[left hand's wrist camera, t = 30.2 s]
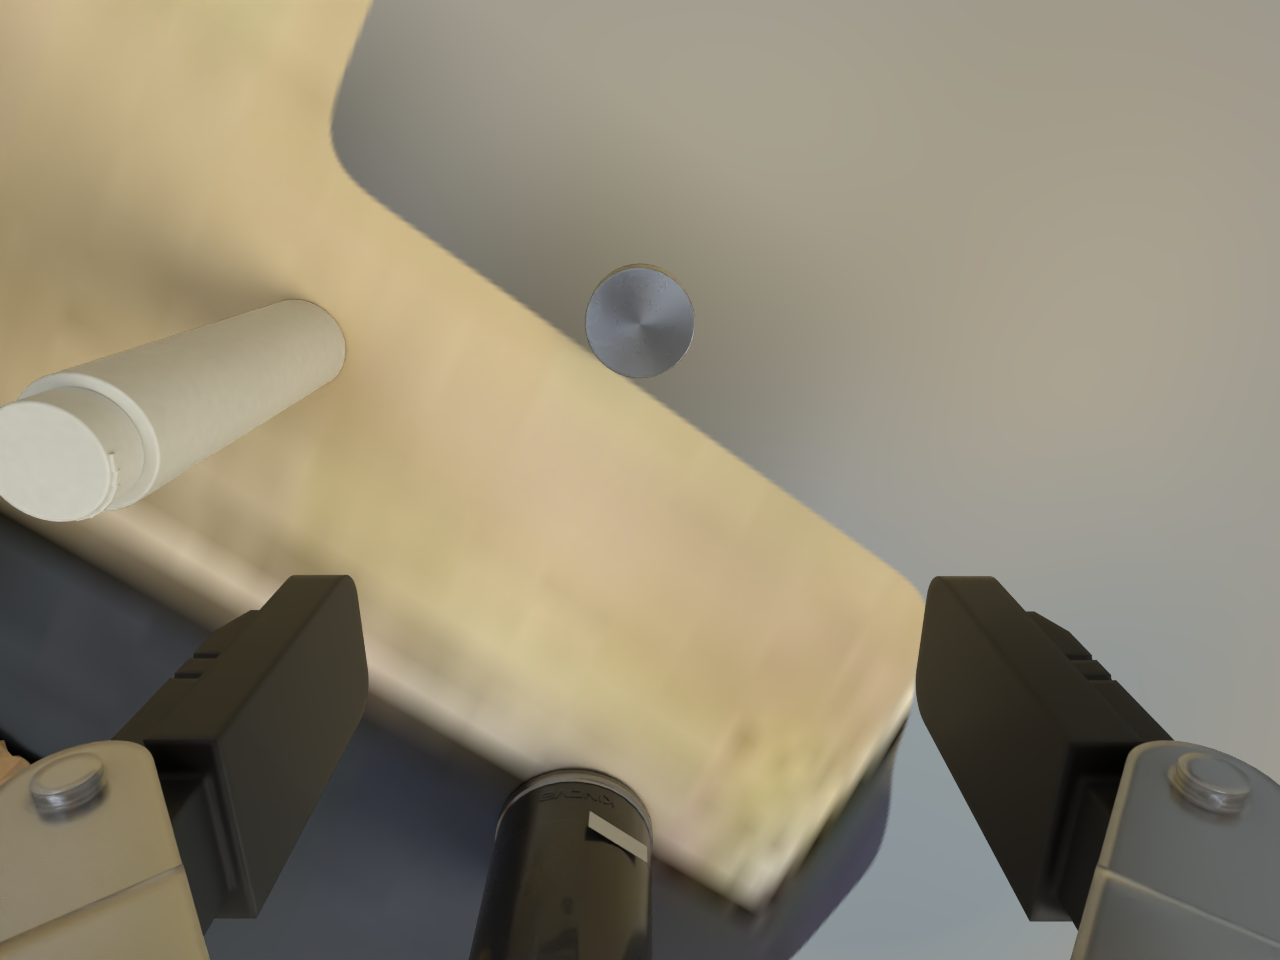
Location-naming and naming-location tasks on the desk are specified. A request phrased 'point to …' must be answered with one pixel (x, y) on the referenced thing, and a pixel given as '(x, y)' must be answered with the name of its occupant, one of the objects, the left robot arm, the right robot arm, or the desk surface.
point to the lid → (639, 321)
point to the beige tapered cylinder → (158, 409)
